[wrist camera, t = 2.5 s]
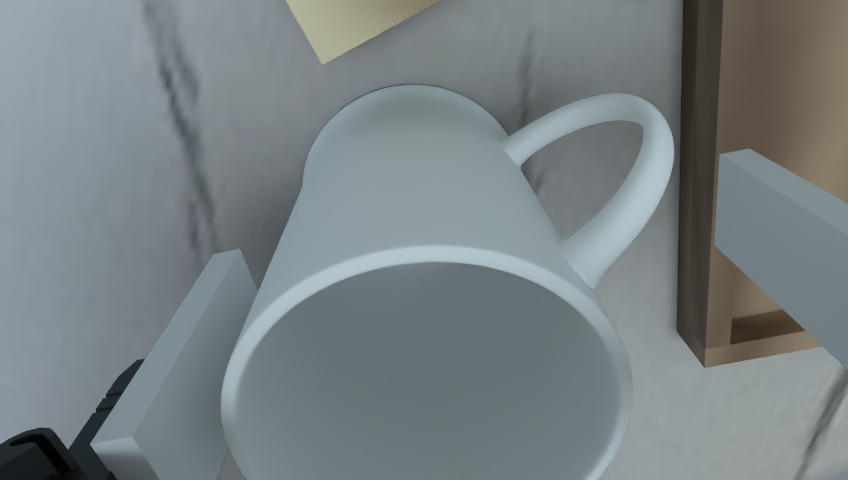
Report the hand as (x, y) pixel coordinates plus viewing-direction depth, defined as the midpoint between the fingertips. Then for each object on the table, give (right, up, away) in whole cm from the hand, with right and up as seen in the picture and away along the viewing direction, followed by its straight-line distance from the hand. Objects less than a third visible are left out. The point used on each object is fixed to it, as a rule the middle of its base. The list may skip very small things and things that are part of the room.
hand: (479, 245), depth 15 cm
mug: (-1, +3, +6) cm, 7 cm away
